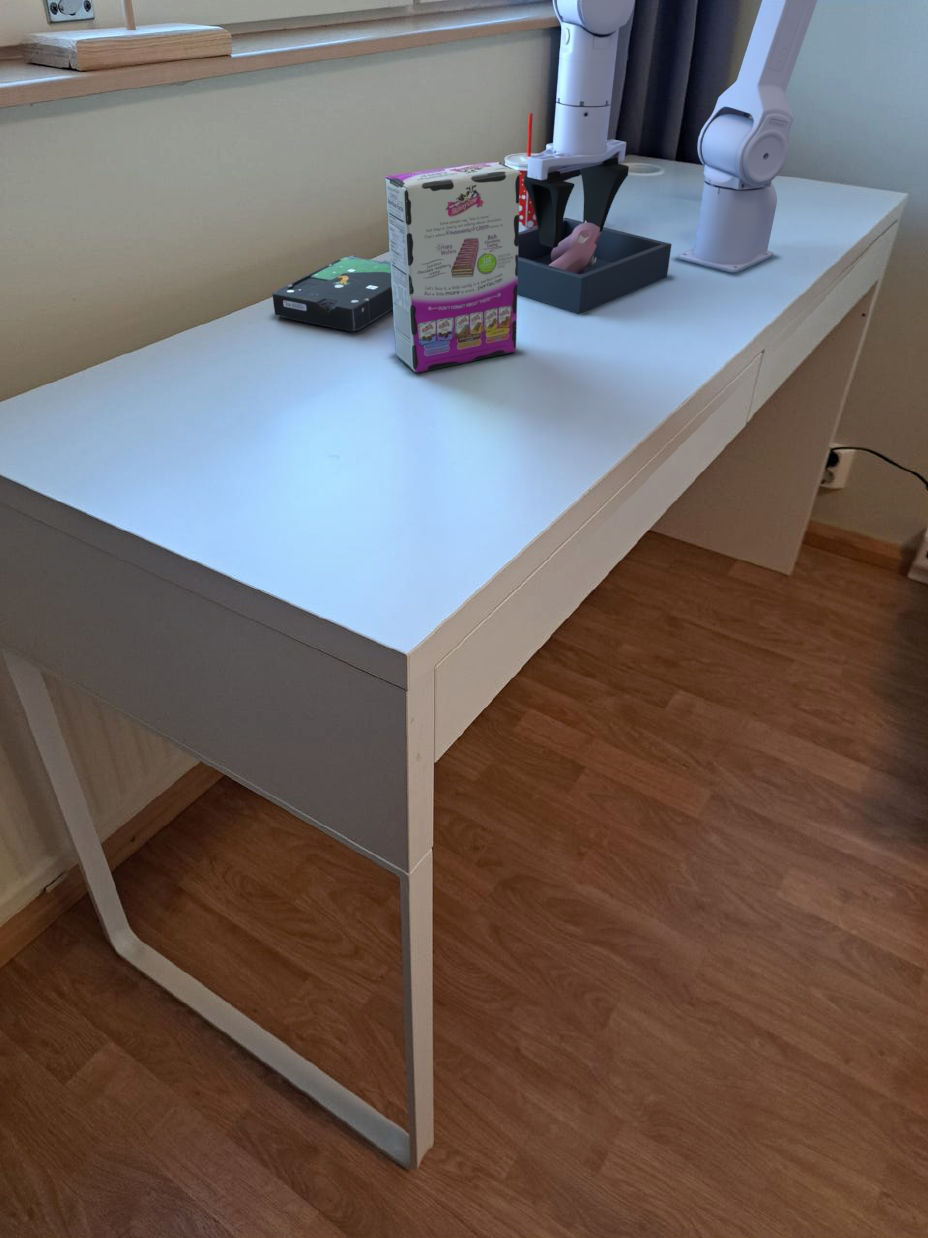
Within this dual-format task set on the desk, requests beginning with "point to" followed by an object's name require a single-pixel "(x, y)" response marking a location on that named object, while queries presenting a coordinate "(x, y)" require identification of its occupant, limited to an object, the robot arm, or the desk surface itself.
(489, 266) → the candy bar box
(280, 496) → the desk surface
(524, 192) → the beverage cup
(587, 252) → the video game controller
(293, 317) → the disk drive
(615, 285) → the bin
